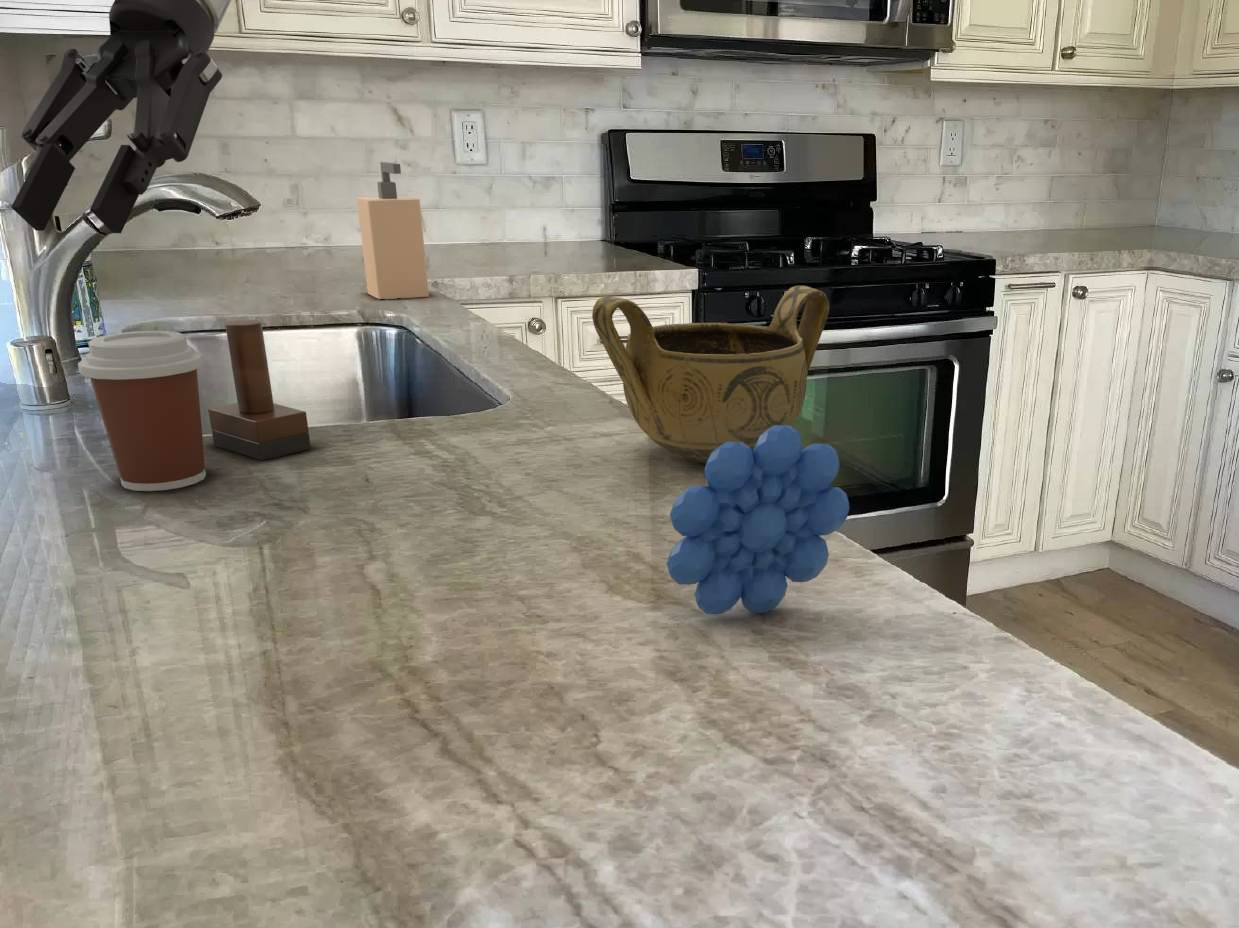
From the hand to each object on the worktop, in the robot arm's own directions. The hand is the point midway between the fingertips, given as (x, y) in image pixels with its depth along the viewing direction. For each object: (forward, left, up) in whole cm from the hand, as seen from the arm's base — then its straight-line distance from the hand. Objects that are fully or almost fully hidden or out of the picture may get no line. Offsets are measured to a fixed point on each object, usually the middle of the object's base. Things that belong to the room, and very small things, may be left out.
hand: (66, 219), depth 88 cm
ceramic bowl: (+37, +36, -21) cm, 56 cm away
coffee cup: (+4, +2, -21) cm, 22 cm away
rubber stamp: (+1, +13, -21) cm, 25 cm away
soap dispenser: (-67, +84, -21) cm, 110 cm away
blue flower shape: (+60, +9, -21) cm, 64 cm away
